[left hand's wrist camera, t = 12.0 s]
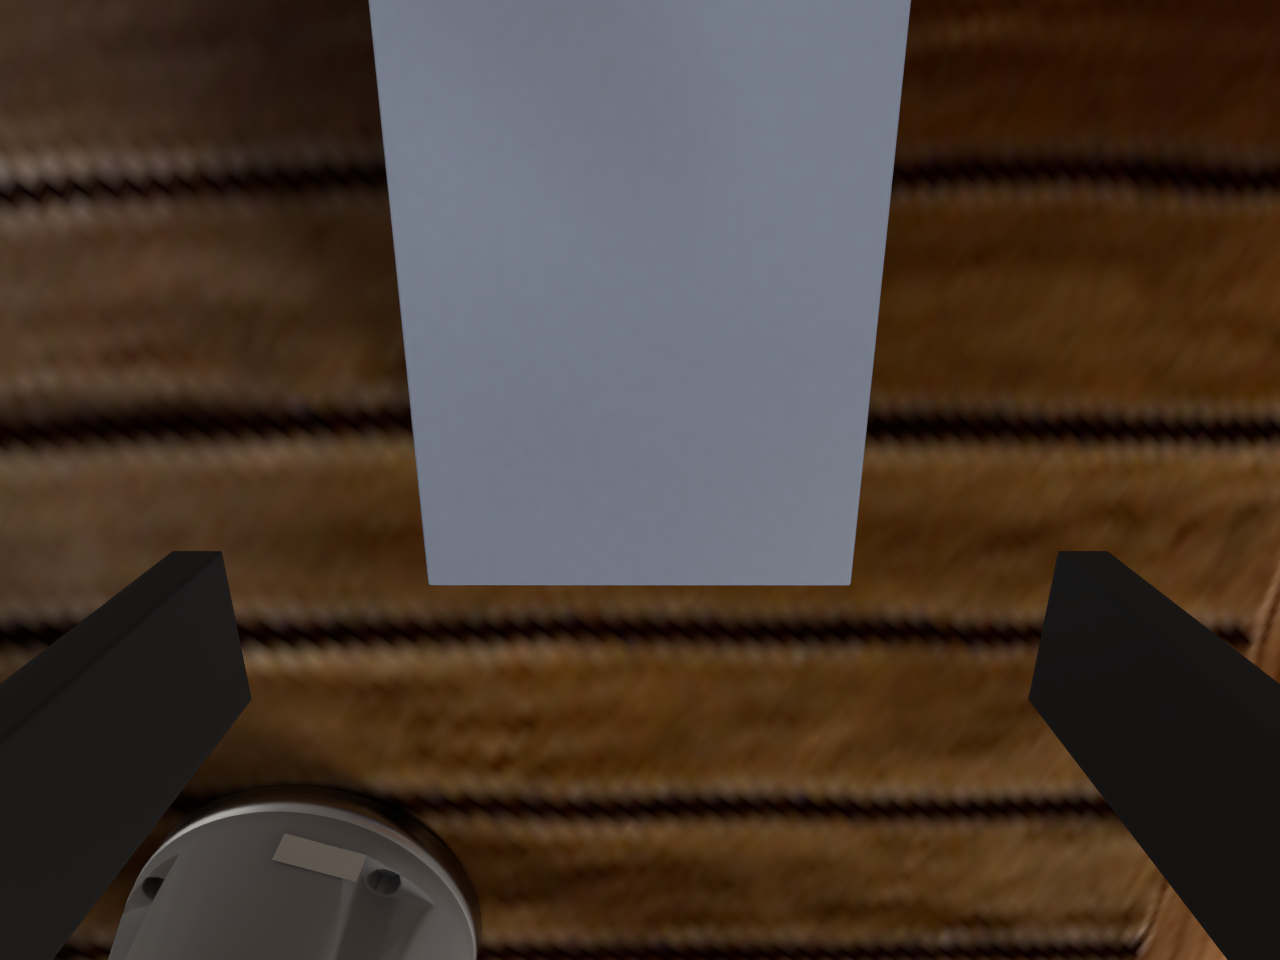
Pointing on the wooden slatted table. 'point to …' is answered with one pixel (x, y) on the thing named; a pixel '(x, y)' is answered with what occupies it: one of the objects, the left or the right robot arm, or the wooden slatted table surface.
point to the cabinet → (639, 280)
